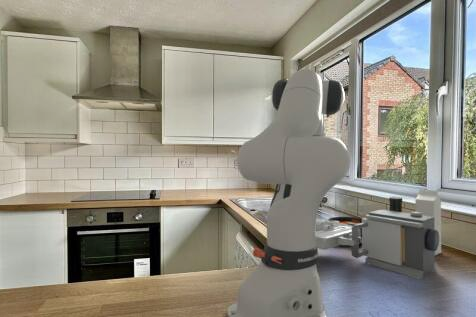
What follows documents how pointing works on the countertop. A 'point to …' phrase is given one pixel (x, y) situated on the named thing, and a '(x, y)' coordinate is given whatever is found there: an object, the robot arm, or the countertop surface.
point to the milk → (430, 209)
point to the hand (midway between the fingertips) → (357, 241)
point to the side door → (378, 241)
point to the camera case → (410, 242)
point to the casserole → (348, 221)
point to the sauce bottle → (395, 204)
